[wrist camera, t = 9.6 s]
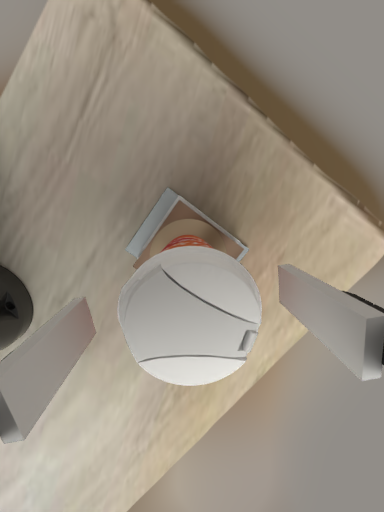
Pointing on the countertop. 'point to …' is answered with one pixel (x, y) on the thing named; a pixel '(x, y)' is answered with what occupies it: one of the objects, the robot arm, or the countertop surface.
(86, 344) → the robot arm
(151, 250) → the pedestal
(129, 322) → the coffee cup
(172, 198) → the build plate
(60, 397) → the countertop surface
